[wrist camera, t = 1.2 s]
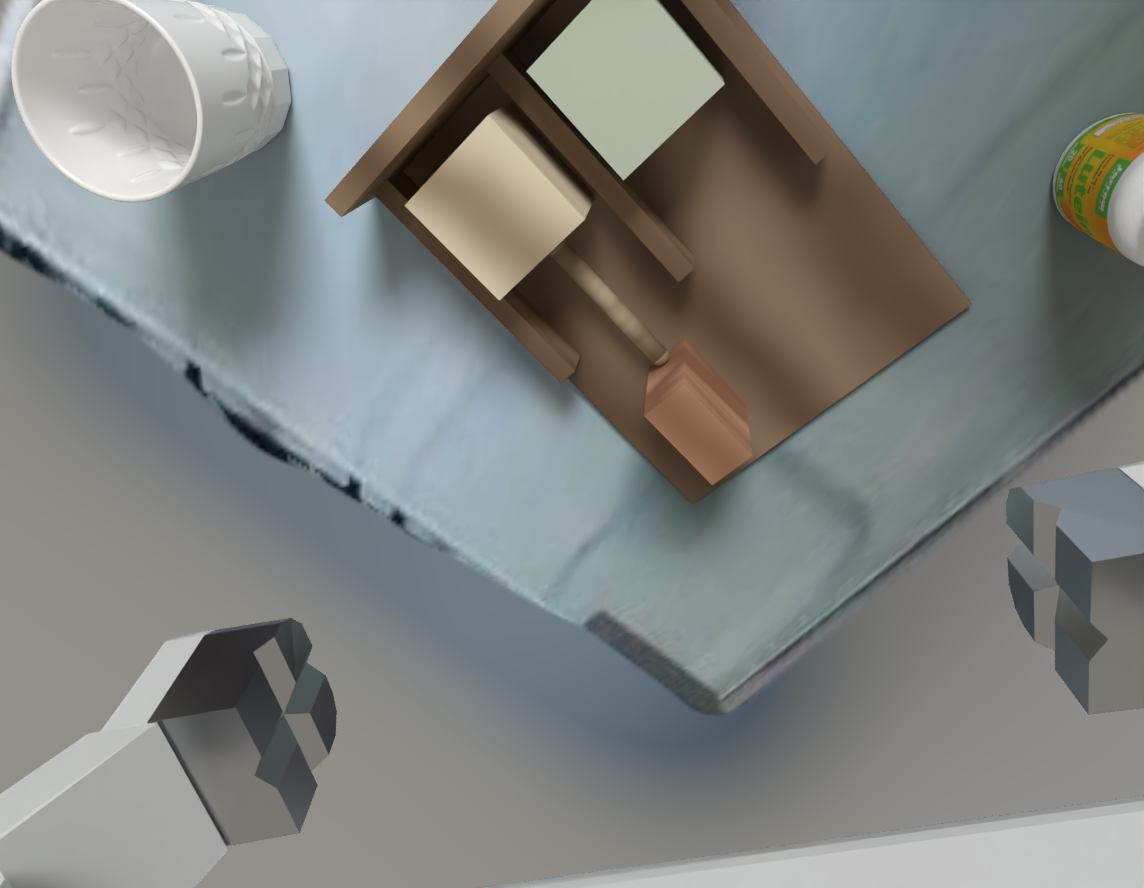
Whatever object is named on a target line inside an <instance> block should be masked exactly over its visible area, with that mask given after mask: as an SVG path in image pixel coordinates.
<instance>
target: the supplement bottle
mask: <svg viewBox="0 0 1144 888" xmlns="http://www.w3.org/2000/svg"><path fill="white" fill-rule="evenodd" d="M1053 196H1054V201H1055V204H1056V206H1057V209H1058V210H1059V212H1060V214H1061V215H1062V216H1063V217H1064V219H1065V220H1066V221H1068V222H1069V223H1070V224H1071V225H1072V226H1074V227H1075V228H1077V229H1078V230H1080V231H1082V232H1084V233H1085V234H1087V235H1089V236H1090V237H1092V238H1094V239H1095V240H1097V241H1099V242H1100V243H1102V244H1104V245H1105V246H1107V247H1109V248H1111V249H1112V250H1114V251H1116V252H1117V253H1119V254H1121V255H1122V256H1124V257H1126V258H1128V259H1129V260H1131V261H1133V262H1135V263H1137V264H1139V265H1141V266H1143V267H1144V114H1143V113H1124V114H1117V115H1113V116H1110V117H1107V118H1104V119H1102V120H1100V121H1098V122H1096V123H1094V124H1092V125H1091V126H1089V127H1088V128H1086V129H1085V130H1083V131H1082V132H1081V133H1080V134H1079V135H1077V136H1076V137H1075V138H1074V139H1073V140H1072V142H1071V143H1070V144H1069V145H1068V146H1067V148H1066V149H1065V151H1064V152H1063V154H1062V155H1061V157H1060V159H1059V161H1058V164H1057V166H1056V169H1055V172H1054V177H1053Z"/></svg>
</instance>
